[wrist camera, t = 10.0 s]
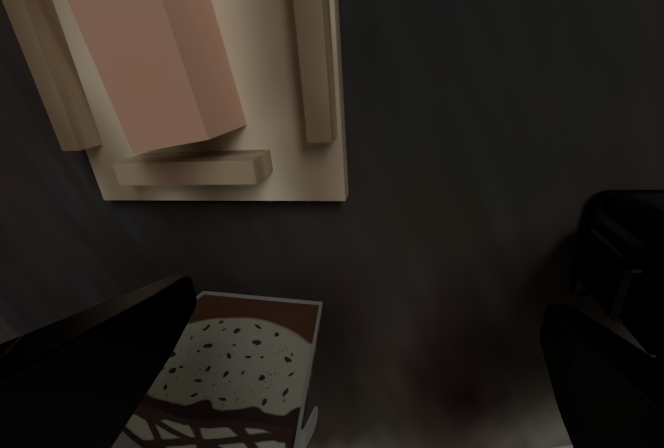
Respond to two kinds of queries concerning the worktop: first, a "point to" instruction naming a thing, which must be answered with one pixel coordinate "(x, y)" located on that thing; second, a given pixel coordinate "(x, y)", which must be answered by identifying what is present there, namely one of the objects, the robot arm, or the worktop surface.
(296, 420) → the food container
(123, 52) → the pinkish brown block
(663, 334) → the robot arm
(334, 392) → the worktop surface
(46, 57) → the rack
